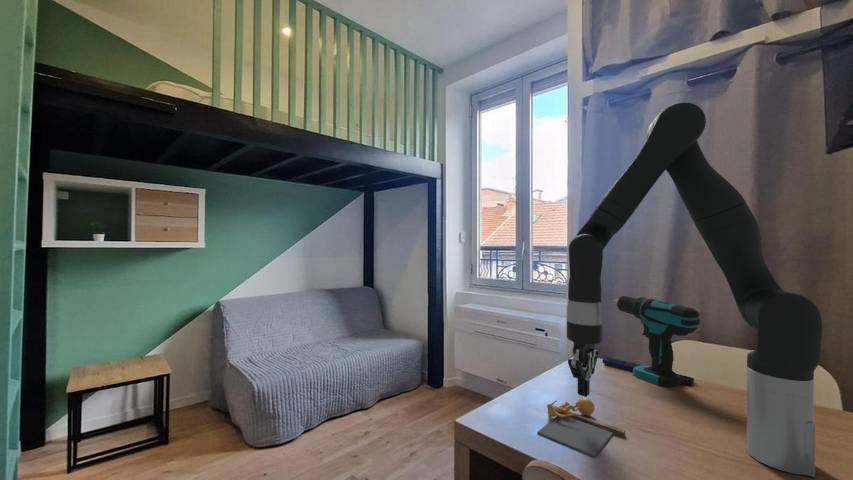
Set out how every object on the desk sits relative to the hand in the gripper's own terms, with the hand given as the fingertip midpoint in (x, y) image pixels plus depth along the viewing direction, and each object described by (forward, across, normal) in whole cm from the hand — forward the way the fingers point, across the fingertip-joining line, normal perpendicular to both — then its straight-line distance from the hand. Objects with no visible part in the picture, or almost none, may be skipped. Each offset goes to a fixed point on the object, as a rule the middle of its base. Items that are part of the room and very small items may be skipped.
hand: (583, 394), depth 80 cm
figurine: (+6, +7, 0) cm, 9 cm away
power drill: (+7, +46, -4) cm, 47 cm away
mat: (+7, -5, 0) cm, 9 cm away
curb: (+7, +2, 0) cm, 7 cm away
